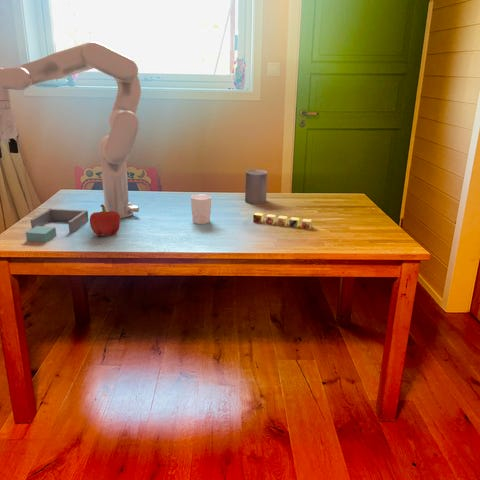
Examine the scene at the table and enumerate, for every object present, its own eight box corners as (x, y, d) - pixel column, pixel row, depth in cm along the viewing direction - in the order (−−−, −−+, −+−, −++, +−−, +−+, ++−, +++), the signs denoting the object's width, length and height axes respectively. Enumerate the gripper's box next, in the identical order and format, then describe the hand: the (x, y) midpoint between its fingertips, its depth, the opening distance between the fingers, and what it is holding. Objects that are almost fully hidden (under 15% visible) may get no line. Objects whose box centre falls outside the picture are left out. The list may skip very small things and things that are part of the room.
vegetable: (89, 231, 173) (86, 204, 170) (117, 227, 177) (115, 202, 174) (93, 240, 164) (90, 213, 160) (123, 237, 168) (121, 210, 164)
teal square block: (56, 236, 168) (55, 227, 167) (46, 243, 161) (45, 233, 160) (37, 235, 169) (36, 225, 167) (27, 242, 162) (25, 232, 161)
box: (88, 220, 184) (87, 210, 183) (72, 232, 171) (71, 221, 170) (50, 218, 186) (49, 208, 184) (31, 230, 173) (30, 219, 171)
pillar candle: (243, 198, 219) (244, 166, 214) (264, 198, 220) (265, 166, 215) (246, 204, 210) (247, 171, 205) (268, 204, 211) (269, 171, 206)
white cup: (215, 221, 187) (215, 197, 183) (200, 226, 181) (200, 200, 178) (201, 217, 192) (201, 193, 188) (187, 221, 186) (186, 196, 183)
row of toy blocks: (256, 211, 203) (256, 203, 202) (331, 220, 193) (331, 212, 191) (229, 234, 174) (229, 225, 173) (315, 246, 164) (315, 237, 163)
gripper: (-8, 107, 154) (0, 160, 160) (23, 103, 170) (29, 151, 176) (-29, 107, 155) (-20, 159, 161) (4, 103, 171) (10, 150, 177)
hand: (6, 155), depth 168 cm, fingers open, 9 cm apart
